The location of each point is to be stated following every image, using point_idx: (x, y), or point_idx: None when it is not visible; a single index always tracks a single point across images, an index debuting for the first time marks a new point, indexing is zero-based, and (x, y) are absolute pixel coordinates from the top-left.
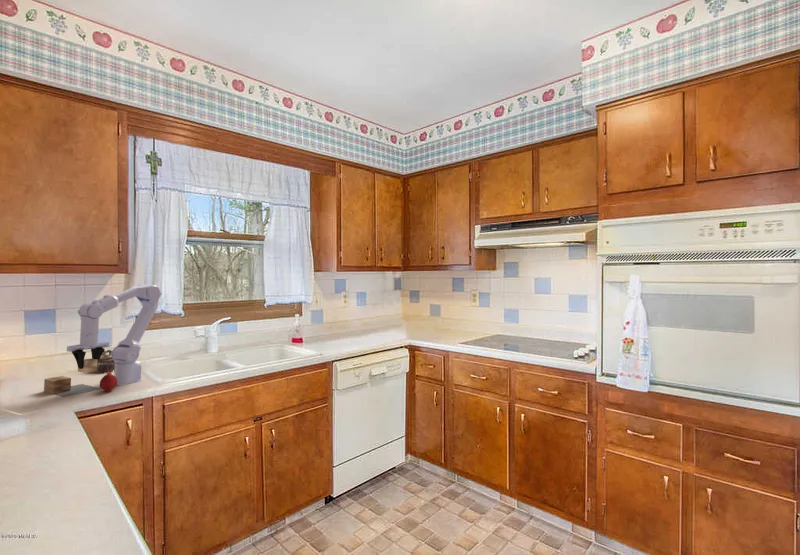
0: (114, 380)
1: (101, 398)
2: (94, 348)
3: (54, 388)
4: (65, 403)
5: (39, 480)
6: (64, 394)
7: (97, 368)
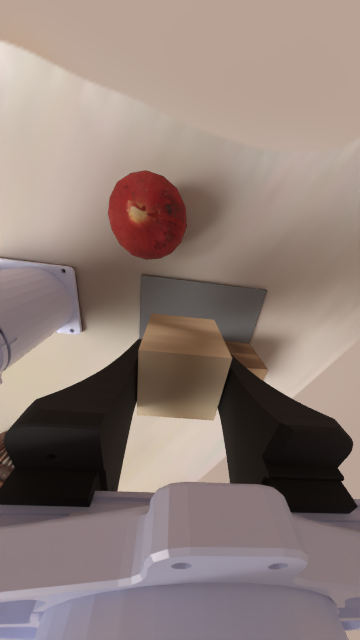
0: (138, 172)
1: (233, 149)
2: (116, 491)
3: (251, 352)
4: (322, 218)
5: None
6: (243, 314)
7: None
